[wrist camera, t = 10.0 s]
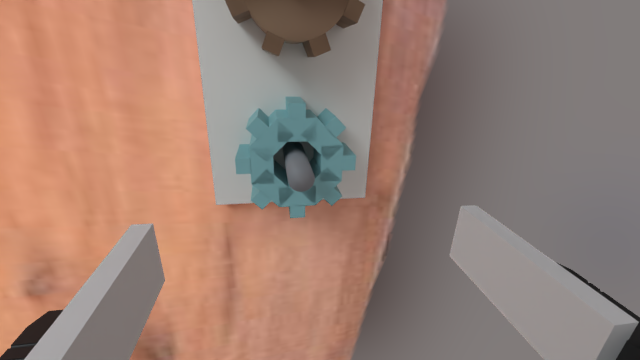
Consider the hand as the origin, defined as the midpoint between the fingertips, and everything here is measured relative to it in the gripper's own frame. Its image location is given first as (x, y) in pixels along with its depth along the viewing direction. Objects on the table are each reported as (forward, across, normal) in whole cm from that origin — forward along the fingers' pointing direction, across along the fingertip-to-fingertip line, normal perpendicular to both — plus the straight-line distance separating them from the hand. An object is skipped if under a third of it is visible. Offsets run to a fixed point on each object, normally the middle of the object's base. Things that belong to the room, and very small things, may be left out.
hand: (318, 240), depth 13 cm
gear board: (+16, 0, -6) cm, 17 cm away
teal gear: (+14, 0, 0) cm, 15 cm away
